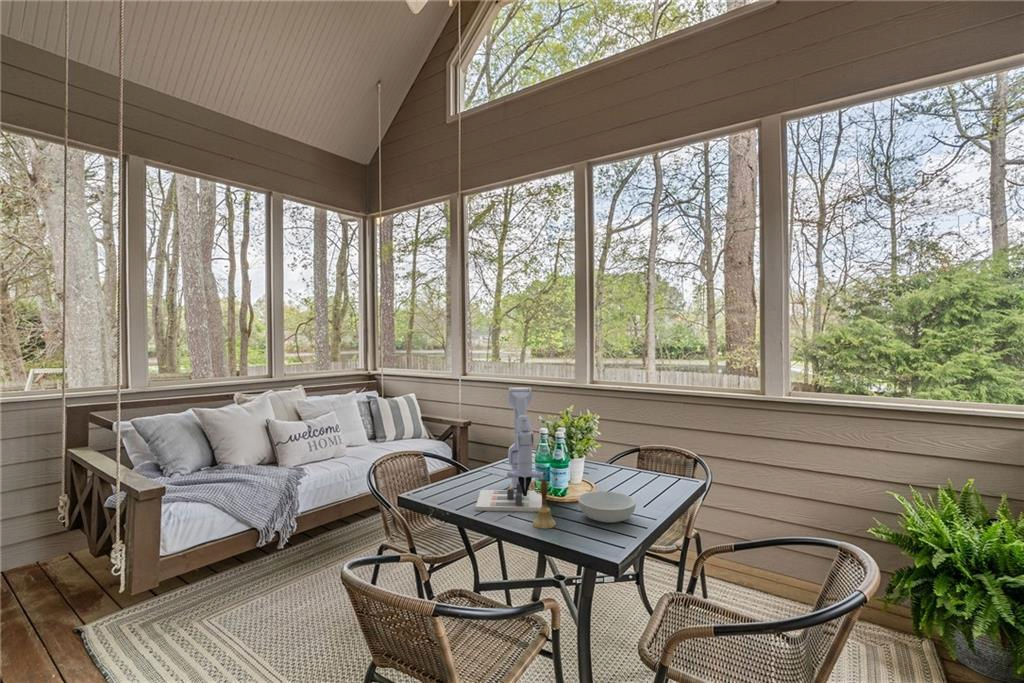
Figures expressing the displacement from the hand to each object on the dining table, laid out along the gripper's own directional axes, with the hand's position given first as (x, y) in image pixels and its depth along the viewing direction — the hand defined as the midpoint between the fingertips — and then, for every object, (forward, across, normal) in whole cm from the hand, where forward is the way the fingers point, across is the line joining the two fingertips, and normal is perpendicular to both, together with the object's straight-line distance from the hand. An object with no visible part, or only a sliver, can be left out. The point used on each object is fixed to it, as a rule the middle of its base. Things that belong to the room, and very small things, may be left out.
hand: (524, 495), depth 191 cm
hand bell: (+3, +7, -22) cm, 23 cm away
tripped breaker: (+1, -6, 0) cm, 6 cm away
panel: (+3, -6, 0) cm, 6 cm away
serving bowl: (+3, +30, -15) cm, 34 cm away
